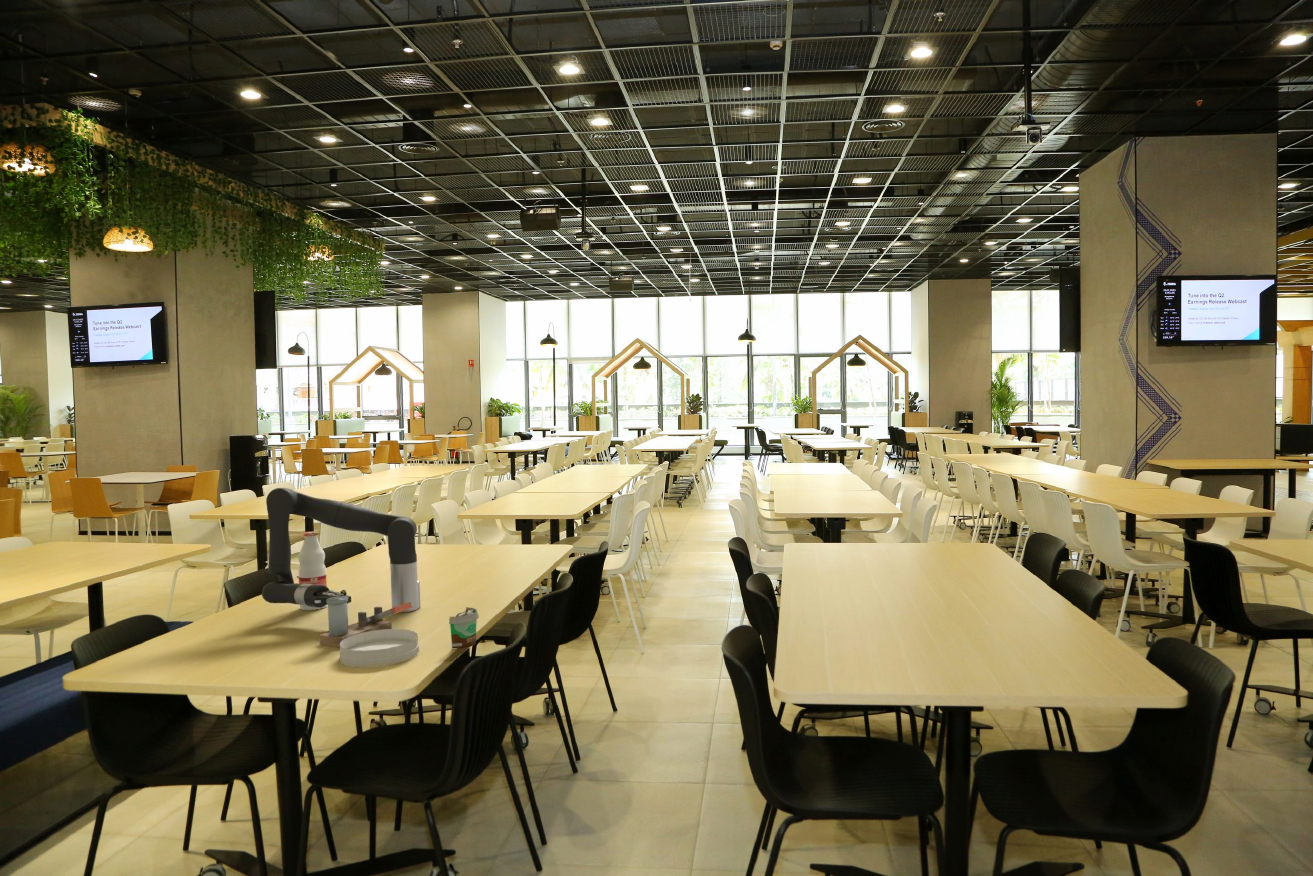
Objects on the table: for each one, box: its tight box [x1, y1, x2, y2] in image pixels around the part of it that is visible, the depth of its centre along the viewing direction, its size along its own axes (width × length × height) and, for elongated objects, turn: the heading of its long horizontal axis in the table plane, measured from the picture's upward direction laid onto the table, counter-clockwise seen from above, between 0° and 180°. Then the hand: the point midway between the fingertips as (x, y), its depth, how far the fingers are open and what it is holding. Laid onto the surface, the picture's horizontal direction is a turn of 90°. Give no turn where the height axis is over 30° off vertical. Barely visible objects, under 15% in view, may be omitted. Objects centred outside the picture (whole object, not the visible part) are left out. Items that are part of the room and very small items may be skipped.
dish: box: [339, 628, 420, 668], centre depth 234 cm, size 22×22×5 cm
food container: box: [448, 607, 480, 650], centre depth 242 cm, size 12×6×10 cm, turn 168°
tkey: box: [367, 602, 412, 624], centre depth 255 cm, size 7×2×16 cm
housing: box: [319, 606, 393, 648], centre depth 253 cm, size 20×10×7 cm, turn 154°
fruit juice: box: [297, 531, 328, 611], centre depth 293 cm, size 9×9×28 cm
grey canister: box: [327, 596, 349, 637], centre depth 246 cm, size 6×6×11 cm
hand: (349, 599), depth 262 cm, fingers closed
